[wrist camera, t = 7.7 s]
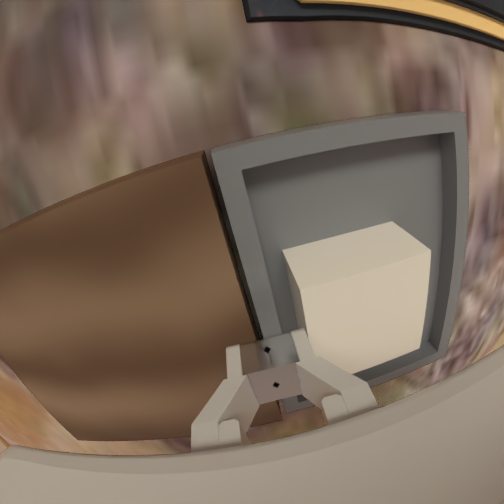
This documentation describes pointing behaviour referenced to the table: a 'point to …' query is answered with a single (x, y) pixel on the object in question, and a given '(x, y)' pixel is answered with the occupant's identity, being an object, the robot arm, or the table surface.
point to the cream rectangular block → (361, 294)
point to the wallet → (395, 14)
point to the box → (351, 210)
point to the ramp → (126, 304)
